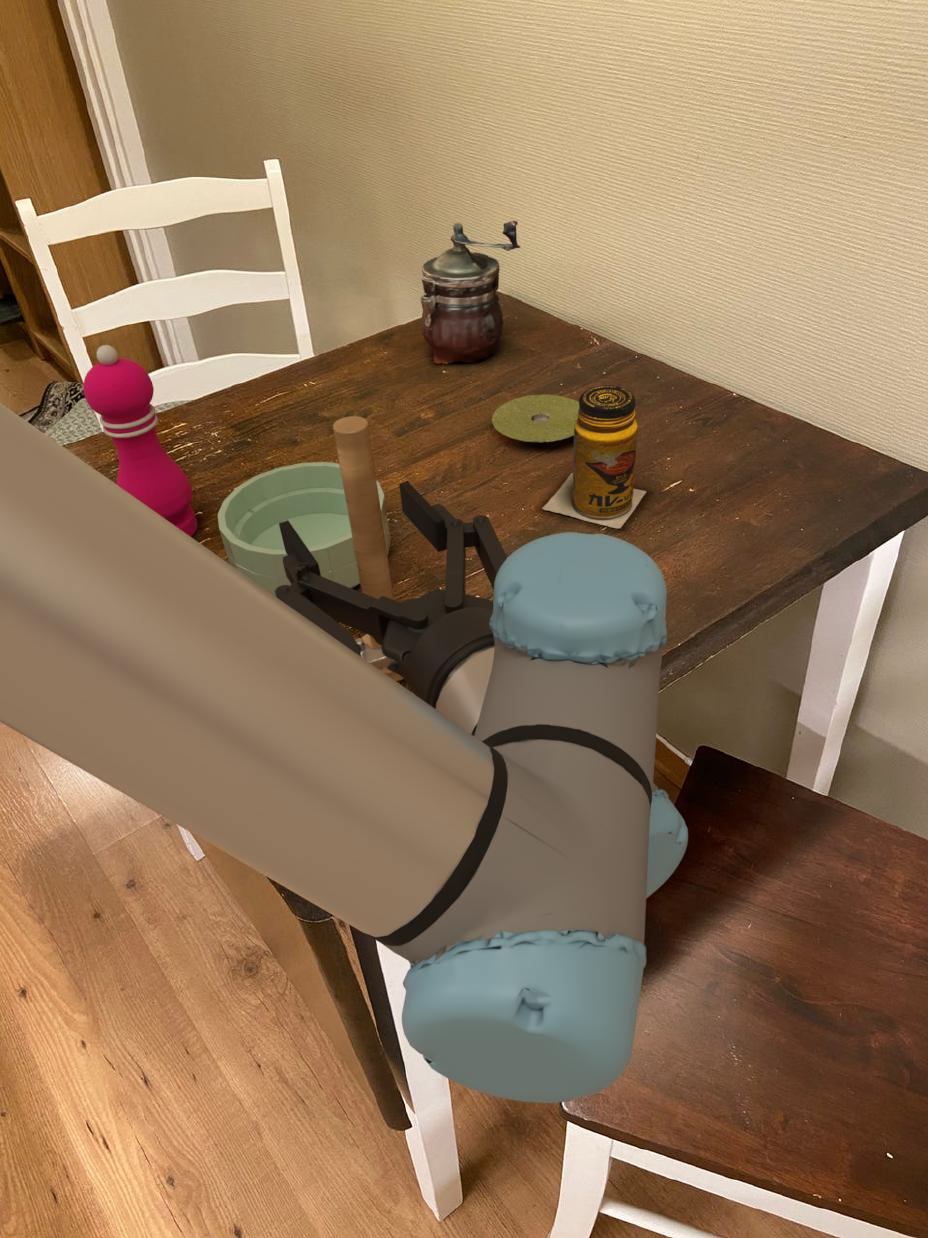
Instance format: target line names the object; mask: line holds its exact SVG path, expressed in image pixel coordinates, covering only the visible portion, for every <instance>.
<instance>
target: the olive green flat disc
mask: <svg viewBox="0 0 928 1238" xmlns="http://www.w3.org/2000/svg"><path fill="white" fill-rule="evenodd" d="M578 411H579V400H578V401H577V400H575V399H572V398H569V397H567V396H563V395H558V394H557V395H556V394H546V393H545V394H544V393H543V394H531V395H526V396H519V397H516V398H514V399H511V400H509V401H506V402H505V403H503V404H502V405H500V406H498V407H497V409H495V411H494V412H493V413H492V416H491V424H492V425H493V427H494V429H495V430H496V431H497V432H498V433H500V434H501V435H503V436H505V437H508V438H510V439H514V440H517V441H522V442H524V443H525V442H527V443H529V442H530V443H545V442H546V443H550V442H551V443H554V442H556V441H562V440H564V439H569V438H571V437H574V426H575V422H576V420H577V419H578Z"/></svg>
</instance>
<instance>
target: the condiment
mask: <svg viewBox="0 0 928 1238" xmlns="http://www.w3.org/2000/svg"><path fill="white" fill-rule="evenodd" d="M578 398H579V399H578V402H579V411H578V419H577V420H576V422H575V426H574V435H573V461H572V463H573V464H572V466H573V467H572V468H573V469H572V472H571V473H570V474H569V475H568V477H567V479H566V480H565V481H564V482H563V483H562V485H561V486H560V488H559V489H558V490H557V491H556V492H555V493H554V495H552V496H551V498H550V499H549V500H548V502H547V503H546V504H544V506H543V507H542V508H541V510H544V511H549V512H552V513H556V514H561V515H564V516H569V517H572V518H575V519H578V520H581V521H585V522H588V523H589V522H590V523H592V524H598V525H600V526H606V527H609V528H613V529H622V527H623V526H624V524H625V523H626V522H627V520H628V519H629V518H630V517H631V515H632V514H633V512H634V511H635V510H636V508H637V506H638V505H639V504H640V502H641V501H642V499H643V497H644V496H645V495H646V494H647V490H643V489H637V488H634V485H635V472H636V463H637V462H636V461H637V459H636V458H637V454H636V453H637V445H638V435H639V434H638V433H639V425H638V422H637V420H636V398H635V396H634V394H633V393H632V392H631V391H630V390H629V389H627V388H624V387H622V386H618V385H613V384H611V385H610V384H604V385H598V386H593V387H590V388H588V389H586V390H585V391H583V392H582V394H580V395H579V397H578Z"/></svg>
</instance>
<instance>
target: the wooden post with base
mask: <svg viewBox="0 0 928 1238" xmlns="http://www.w3.org/2000/svg"><path fill="white" fill-rule="evenodd" d="M369 427H370V426H369V422H368V420H367V419H366V418H364V417H363V416H357V415H352V416H351V415H350V416H345V417H344V416H343V417H342V418H339V419H337V420H336V421H335V422H334V423H333V424H332V431H333V436H334V442H335V448H336V449H335V450H336V453H337V459H338V464H339V466H340V471H341V477H342V483H343V488H344V494H345V500H346V505H347V511H348V517H349V522H350V528H351V534H352V539H353V545H354V551H355V556H356V562H357V568H358V573H359V579H360V584H359V585H360V590H361V593H364V594H366V595H369V596H371V597H374V598H376V599H379V598H380V597H381V596H385V597H387V598H390V599H392V600H395V598H394V591H393V584H392V577H391V571H390V563H389V557H388V556H389V555H388V556H387V549H386V542H385V536H384V529H383V522H382V515H381V508H380V502H379V495H378V488H377V481H378V480H377V476H376V475H377V474H376V468H375V462H374V461H375V460H374V454H373V448H372V443H371V435H370V428H369ZM376 480H377V481H376ZM361 638H362V639H363V641H364V643H365V644H367V645H368V646H370V647H371V648H374V649H378V648H381V646H382V645H380V644H378V643H377V642H376V641H375V640H374V638H373V637H372V636H370V635H368V634H366V633H365V635H363V636H362V637H361ZM380 671H382V672H383V673H385V674H386V675H388V676H389V677H390V678H392V679H393V680H395V681H396V682H400V681H402V680H404V678H403V677H402V676H400V675H399V674H397V673H394V672H392V671H390V670H389V669H388V668H384V669H381V670H380Z"/></svg>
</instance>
